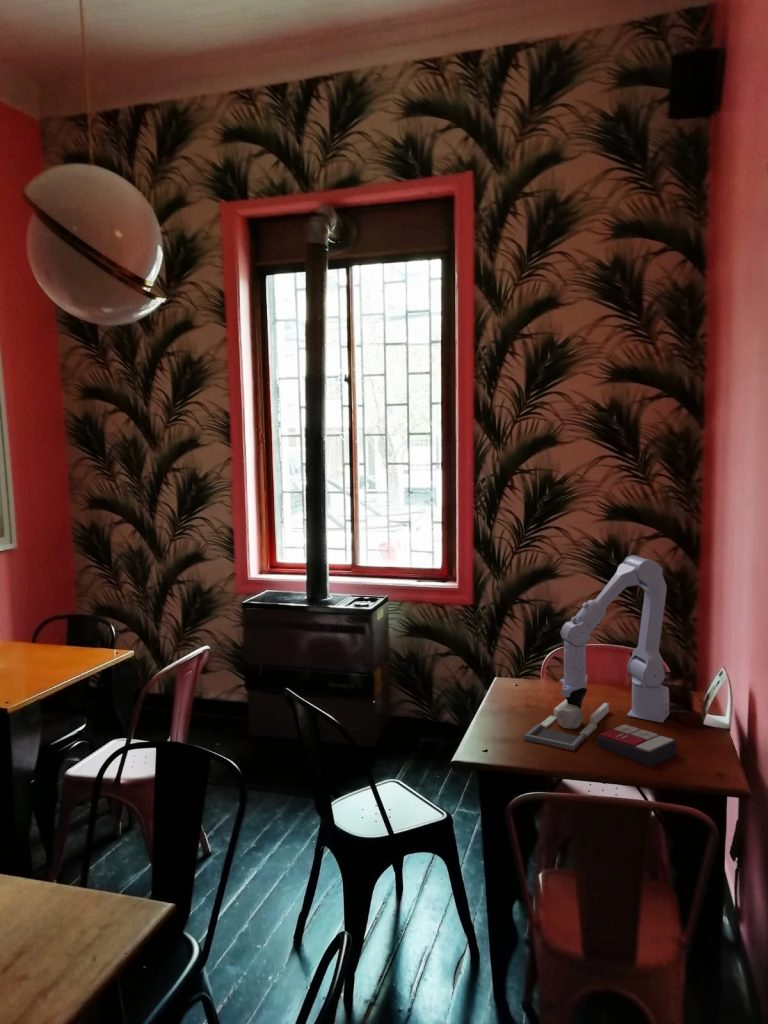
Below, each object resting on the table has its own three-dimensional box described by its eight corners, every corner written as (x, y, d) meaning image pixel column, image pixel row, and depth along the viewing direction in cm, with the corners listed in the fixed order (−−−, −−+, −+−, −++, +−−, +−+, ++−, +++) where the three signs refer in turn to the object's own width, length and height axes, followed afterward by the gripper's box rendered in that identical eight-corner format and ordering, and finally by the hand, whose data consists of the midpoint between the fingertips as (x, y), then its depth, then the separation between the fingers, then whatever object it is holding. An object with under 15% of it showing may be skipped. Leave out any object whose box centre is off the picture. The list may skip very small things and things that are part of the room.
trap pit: (586, 738, 182) (586, 733, 182) (573, 750, 175) (573, 746, 175) (538, 727, 189) (538, 723, 189) (524, 739, 182) (524, 735, 182)
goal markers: (596, 727, 189) (596, 724, 189) (587, 736, 183) (587, 734, 183) (550, 717, 196) (550, 715, 196) (539, 726, 190) (539, 724, 190)
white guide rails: (608, 711, 200) (608, 703, 199) (594, 725, 190) (594, 717, 190) (569, 704, 206) (569, 696, 206) (553, 717, 196) (553, 709, 196)
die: (556, 725, 191) (556, 707, 190) (566, 720, 194) (566, 702, 194) (572, 730, 187) (572, 712, 187) (582, 725, 190) (582, 707, 190)
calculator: (623, 722, 183) (676, 737, 171) (624, 738, 184) (677, 755, 171) (596, 733, 177) (649, 749, 165) (597, 750, 177) (650, 768, 165)
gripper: (570, 657, 201) (570, 703, 202) (550, 670, 189) (550, 720, 190) (594, 660, 197) (594, 708, 198) (576, 675, 185) (576, 725, 186)
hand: (574, 714), depth 194 cm, fingers closed
